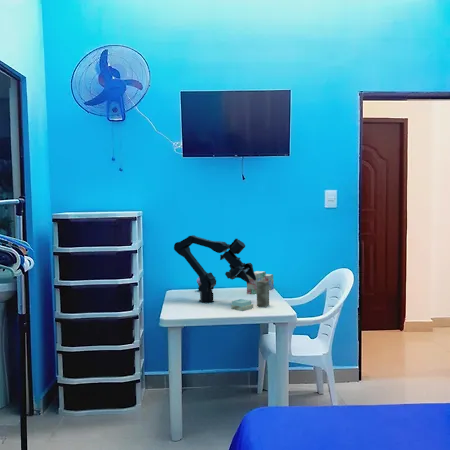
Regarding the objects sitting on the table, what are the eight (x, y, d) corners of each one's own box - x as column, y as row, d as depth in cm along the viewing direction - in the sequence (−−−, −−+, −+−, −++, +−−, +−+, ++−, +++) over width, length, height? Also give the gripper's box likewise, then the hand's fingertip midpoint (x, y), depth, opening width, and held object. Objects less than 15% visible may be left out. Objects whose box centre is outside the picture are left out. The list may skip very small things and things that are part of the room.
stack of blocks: (265, 288, 294) (265, 268, 294) (273, 289, 291) (273, 269, 290) (246, 293, 277) (246, 273, 277) (255, 294, 274) (255, 274, 273)
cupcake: (201, 289, 294) (201, 273, 294) (213, 290, 290) (213, 274, 290) (194, 291, 286) (194, 275, 286) (206, 292, 282) (206, 276, 282)
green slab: (232, 305, 238) (231, 301, 238) (241, 302, 243) (241, 299, 243) (242, 307, 233) (242, 303, 233) (251, 304, 238) (251, 300, 238)
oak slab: (231, 309, 238) (231, 305, 238) (241, 307, 244) (241, 302, 243) (242, 312, 232) (242, 307, 232) (253, 309, 238) (253, 304, 238)
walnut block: (257, 306, 242) (256, 281, 241) (260, 304, 246) (259, 280, 246) (266, 307, 239) (265, 282, 239) (269, 305, 244) (268, 280, 243)
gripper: (230, 268, 260) (249, 288, 256) (216, 272, 243) (236, 294, 239) (243, 254, 256) (262, 274, 252) (229, 258, 239) (249, 280, 235)
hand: (252, 281), depth 245 cm, fingers open, 9 cm apart
